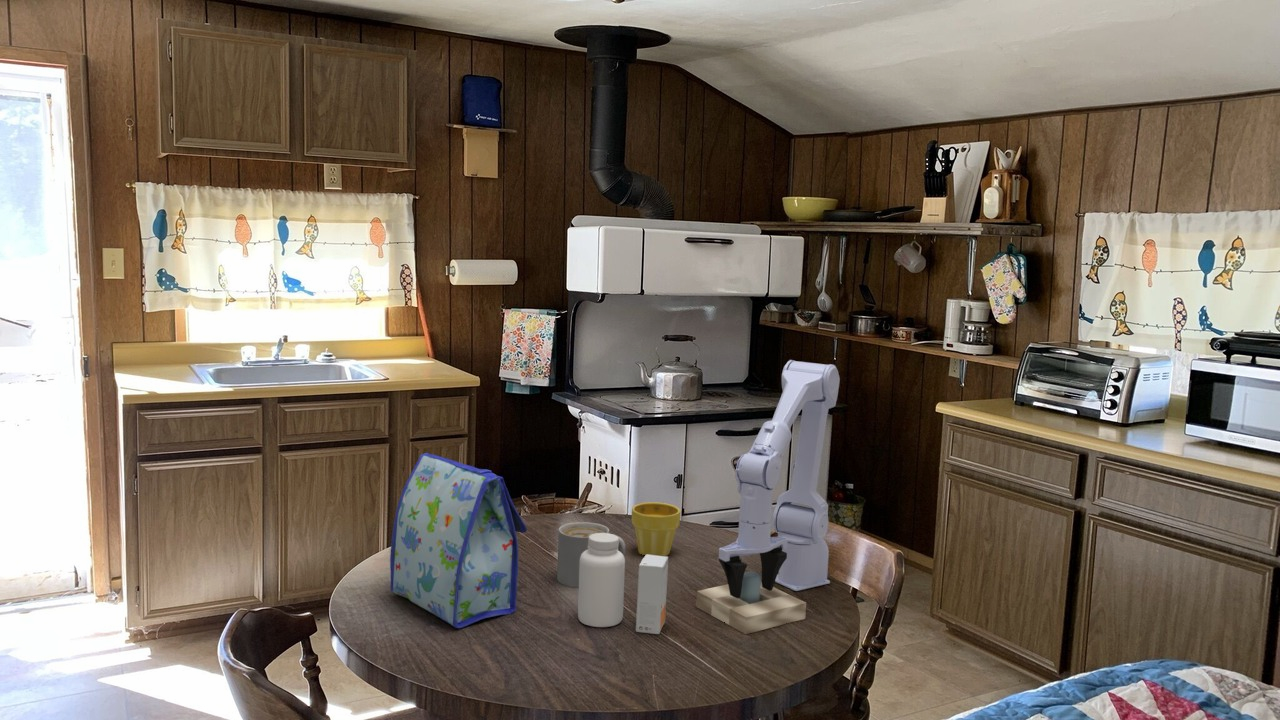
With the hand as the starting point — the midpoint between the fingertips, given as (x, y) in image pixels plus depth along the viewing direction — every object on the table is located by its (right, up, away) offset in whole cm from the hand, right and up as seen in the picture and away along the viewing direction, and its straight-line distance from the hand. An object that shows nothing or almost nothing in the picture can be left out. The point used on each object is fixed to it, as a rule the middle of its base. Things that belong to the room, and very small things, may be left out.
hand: (751, 592), depth 173 cm
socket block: (0, -4, 0) cm, 4 cm away
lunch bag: (-54, -2, 0) cm, 54 cm away
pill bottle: (-27, -4, -5) cm, 28 cm away
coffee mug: (-30, -1, +15) cm, 33 cm away
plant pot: (-17, +1, +31) cm, 36 cm away
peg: (0, -4, +1) cm, 4 cm away
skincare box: (-18, -4, -8) cm, 20 cm away
